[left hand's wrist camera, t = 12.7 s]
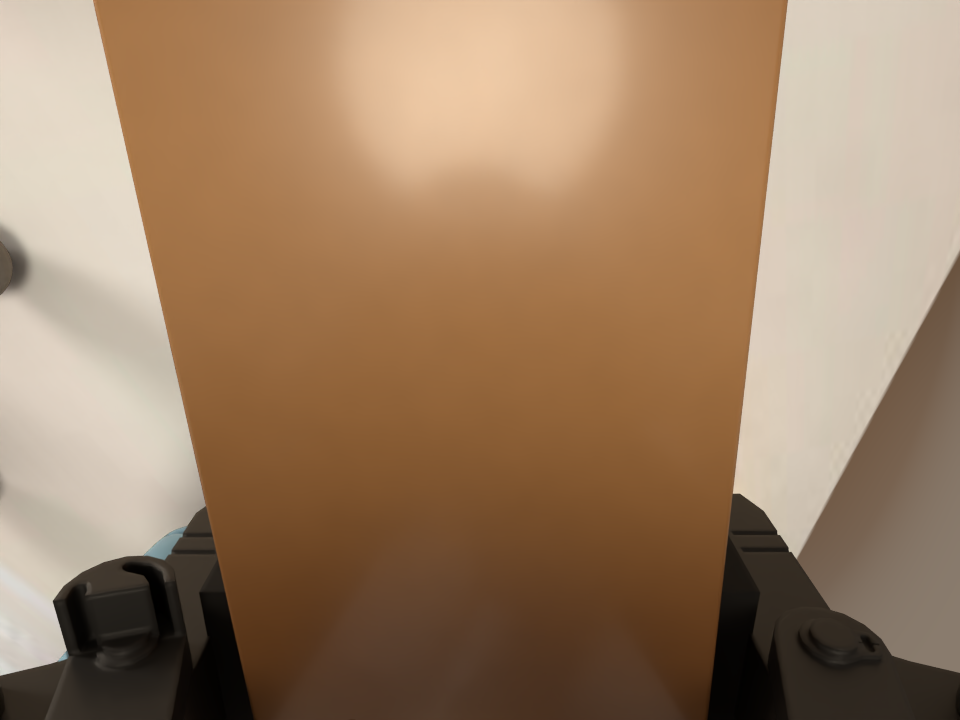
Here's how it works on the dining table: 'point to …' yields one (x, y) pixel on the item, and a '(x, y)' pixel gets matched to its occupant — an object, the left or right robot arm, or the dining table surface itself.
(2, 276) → the molecular model
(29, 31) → the dining table surface
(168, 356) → the dining table surface
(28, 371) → the dining table surface
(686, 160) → the post
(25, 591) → the dining table surface
